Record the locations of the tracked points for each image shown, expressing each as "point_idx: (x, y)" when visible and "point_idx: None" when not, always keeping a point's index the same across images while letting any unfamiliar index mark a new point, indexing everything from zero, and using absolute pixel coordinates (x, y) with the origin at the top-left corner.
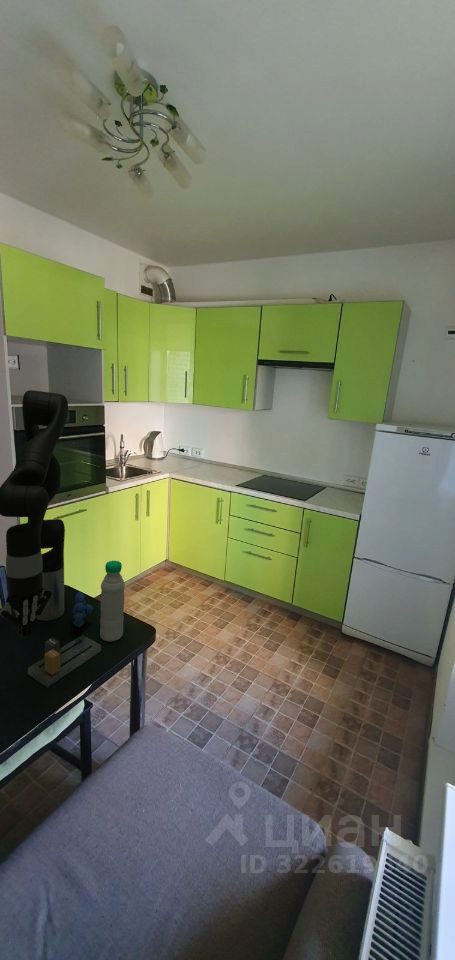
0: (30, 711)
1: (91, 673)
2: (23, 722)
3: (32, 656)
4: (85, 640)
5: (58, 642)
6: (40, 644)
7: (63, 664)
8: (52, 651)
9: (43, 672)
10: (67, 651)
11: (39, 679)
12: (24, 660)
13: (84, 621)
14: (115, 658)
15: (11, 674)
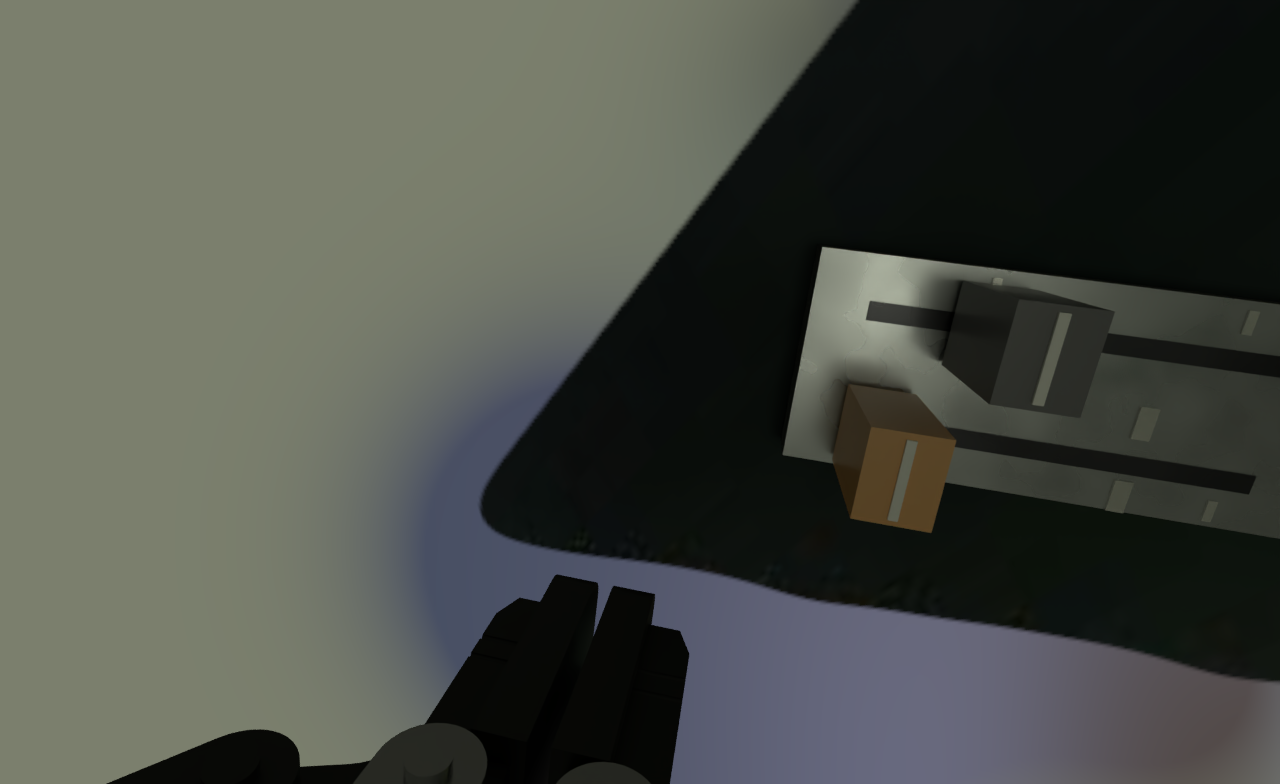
0: (613, 482)
1: (1000, 586)
2: (552, 502)
3: (989, 106)
4: None
5: (1066, 415)
6: (1155, 27)
7: (962, 440)
8: (928, 459)
9: (835, 377)
10: (1111, 363)
11: (795, 373)
12: (924, 93)
13: None
14: (1204, 641)
15: (768, 144)
